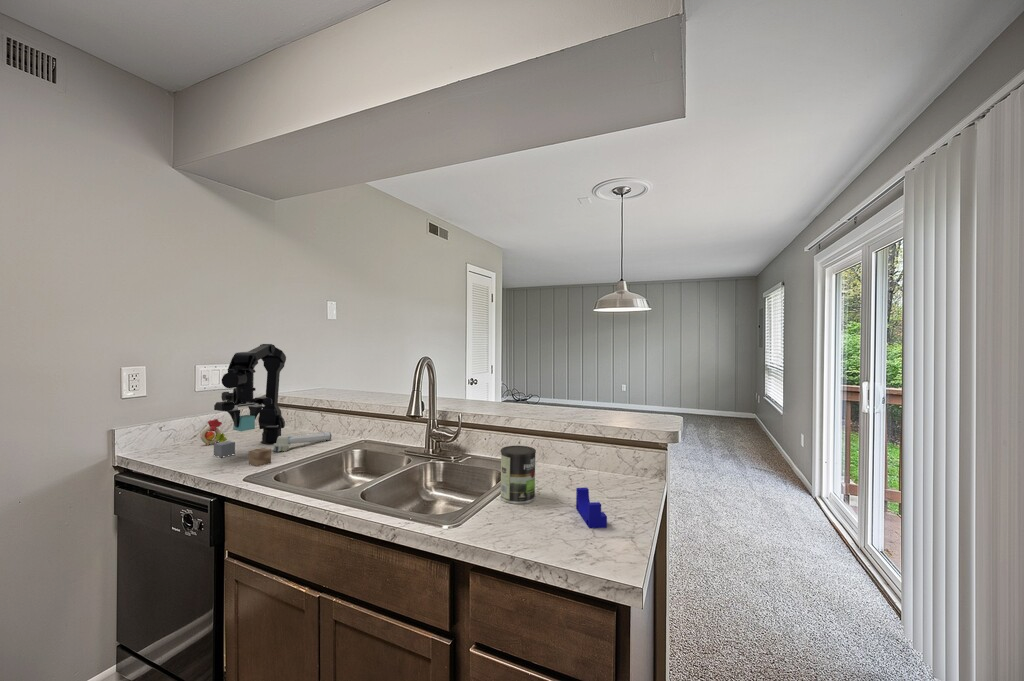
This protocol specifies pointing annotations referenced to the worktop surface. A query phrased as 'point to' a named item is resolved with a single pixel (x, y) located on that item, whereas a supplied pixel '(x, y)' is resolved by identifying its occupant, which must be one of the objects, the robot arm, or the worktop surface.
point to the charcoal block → (224, 448)
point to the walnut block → (260, 456)
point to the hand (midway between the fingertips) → (244, 426)
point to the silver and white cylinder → (299, 440)
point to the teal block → (245, 423)
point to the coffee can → (518, 474)
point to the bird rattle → (208, 436)
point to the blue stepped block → (590, 510)
